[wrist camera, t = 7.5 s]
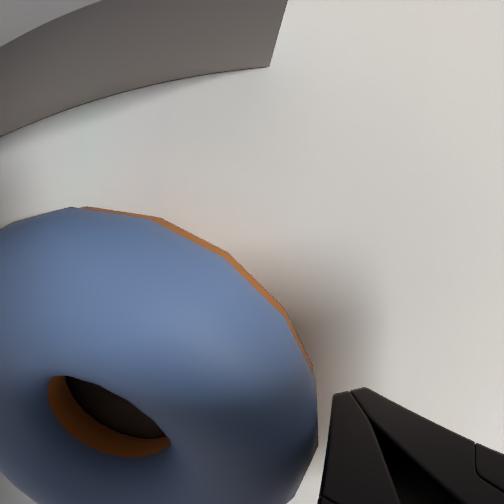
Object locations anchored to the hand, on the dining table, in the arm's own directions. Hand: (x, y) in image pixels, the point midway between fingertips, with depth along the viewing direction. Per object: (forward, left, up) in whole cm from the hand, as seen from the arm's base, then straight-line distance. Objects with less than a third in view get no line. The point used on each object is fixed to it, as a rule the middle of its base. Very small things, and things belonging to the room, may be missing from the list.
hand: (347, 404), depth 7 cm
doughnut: (+6, -1, -2) cm, 6 cm away
